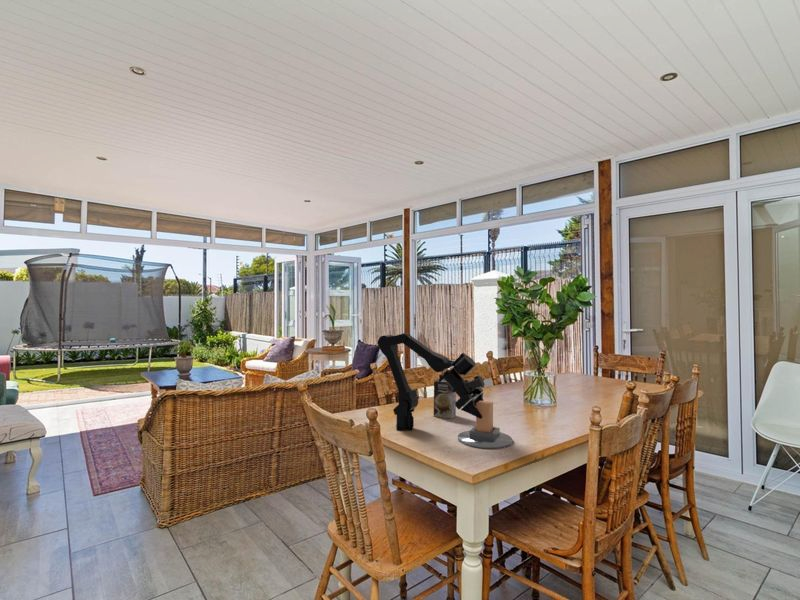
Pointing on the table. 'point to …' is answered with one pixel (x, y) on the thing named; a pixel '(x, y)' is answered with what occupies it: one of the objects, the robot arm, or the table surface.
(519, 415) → the table surface
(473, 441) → the grey disc base
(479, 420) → the tan wooden block
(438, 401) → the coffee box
